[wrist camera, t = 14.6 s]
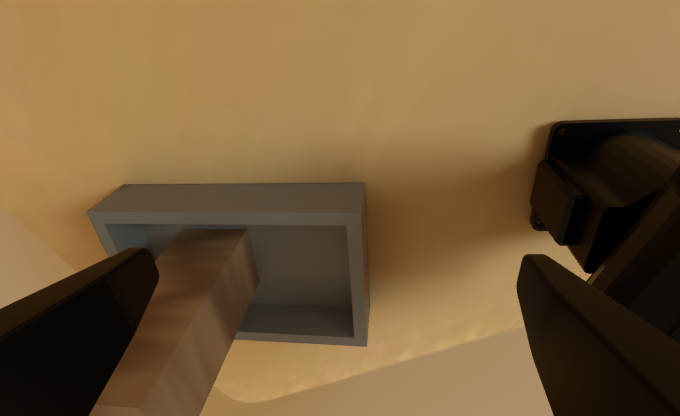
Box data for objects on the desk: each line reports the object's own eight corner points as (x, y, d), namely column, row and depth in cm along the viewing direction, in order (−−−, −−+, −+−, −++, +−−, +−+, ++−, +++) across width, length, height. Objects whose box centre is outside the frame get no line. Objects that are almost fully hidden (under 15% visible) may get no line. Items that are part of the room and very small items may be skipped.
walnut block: (247, 229, 24) (139, 408, 14) (260, 281, 26) (175, 468, 16) (183, 228, 25) (34, 399, 14) (201, 279, 27) (83, 459, 17)
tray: (364, 182, 22) (360, 212, 19) (369, 307, 27) (367, 346, 24) (123, 184, 24) (86, 211, 21) (171, 299, 29) (146, 334, 26)
